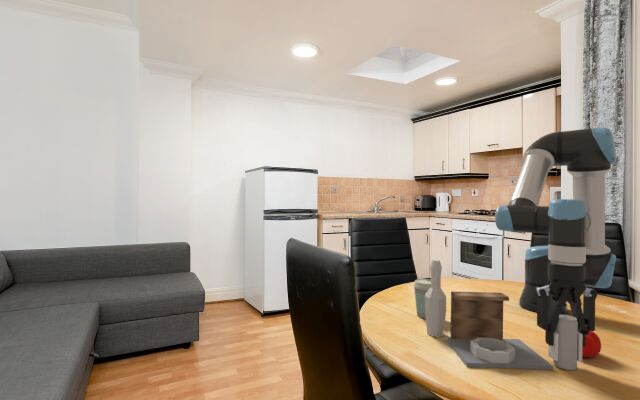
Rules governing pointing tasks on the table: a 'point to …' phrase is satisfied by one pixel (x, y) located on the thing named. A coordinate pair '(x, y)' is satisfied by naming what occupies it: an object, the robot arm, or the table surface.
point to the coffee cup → (421, 295)
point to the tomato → (591, 345)
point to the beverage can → (567, 342)
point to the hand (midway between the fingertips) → (565, 358)
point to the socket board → (498, 353)
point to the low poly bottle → (435, 302)
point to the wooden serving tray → (477, 315)
